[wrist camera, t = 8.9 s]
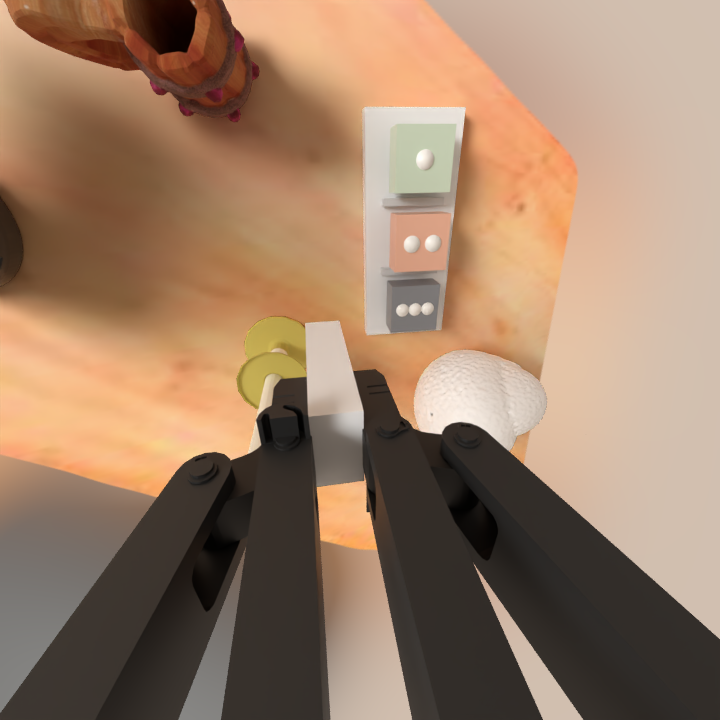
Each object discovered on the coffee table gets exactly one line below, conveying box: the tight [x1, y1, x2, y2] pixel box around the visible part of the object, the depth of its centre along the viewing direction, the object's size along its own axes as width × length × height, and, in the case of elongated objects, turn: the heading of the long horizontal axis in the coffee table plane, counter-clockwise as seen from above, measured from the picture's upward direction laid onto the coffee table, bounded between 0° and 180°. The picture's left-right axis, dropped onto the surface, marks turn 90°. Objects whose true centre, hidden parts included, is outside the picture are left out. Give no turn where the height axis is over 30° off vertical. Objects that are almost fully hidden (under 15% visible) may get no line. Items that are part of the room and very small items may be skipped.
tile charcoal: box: [386, 278, 440, 333], centre depth 42 cm, size 6×6×3 cm
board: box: [362, 107, 466, 335], centre depth 41 cm, size 11×26×3 cm, turn 1°
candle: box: [237, 316, 307, 454], centre depth 36 cm, size 10×10×27 cm
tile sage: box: [389, 124, 457, 193], centre depth 35 cm, size 6×6×3 cm
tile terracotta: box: [389, 211, 451, 272], centre depth 37 cm, size 6×6×3 cm
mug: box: [4, 0, 259, 122], centre depth 26 cm, size 15×8×15 cm, turn 86°
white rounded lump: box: [414, 349, 547, 451], centre depth 47 cm, size 20×18×16 cm
